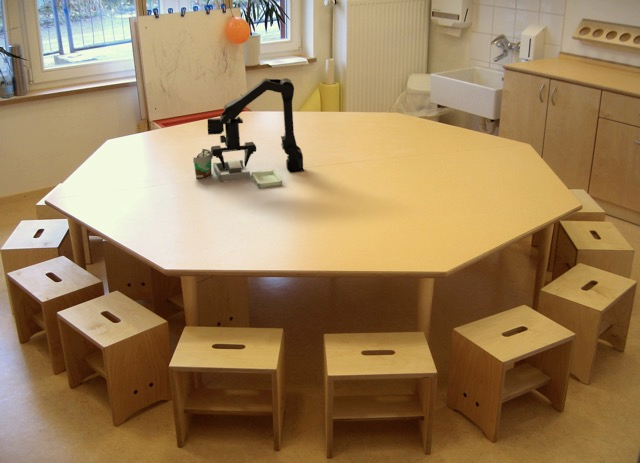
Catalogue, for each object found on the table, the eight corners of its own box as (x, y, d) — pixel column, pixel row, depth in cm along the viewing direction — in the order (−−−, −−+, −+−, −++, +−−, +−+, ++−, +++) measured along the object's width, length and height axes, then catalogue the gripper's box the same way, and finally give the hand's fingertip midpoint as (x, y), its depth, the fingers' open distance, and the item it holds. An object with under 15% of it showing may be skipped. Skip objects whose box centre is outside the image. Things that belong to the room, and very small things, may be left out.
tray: (274, 174, 329) (274, 169, 328) (282, 185, 316) (282, 181, 316) (251, 176, 326) (251, 172, 325) (258, 188, 314) (258, 184, 313)
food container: (208, 181, 322) (206, 158, 318) (195, 180, 324) (192, 157, 319) (218, 170, 333) (216, 149, 329) (204, 170, 334) (202, 148, 330)
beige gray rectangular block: (239, 170, 334) (238, 159, 332) (242, 177, 326) (241, 166, 324) (228, 171, 333) (227, 160, 331) (230, 178, 325) (229, 167, 323)
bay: (242, 166, 338) (242, 159, 337) (250, 178, 324) (249, 172, 323) (213, 169, 335) (213, 163, 333) (219, 182, 321) (219, 175, 320)
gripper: (250, 125, 331) (252, 159, 338) (207, 129, 327) (210, 164, 333) (255, 133, 322) (257, 167, 328) (211, 137, 317) (214, 172, 324)
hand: (234, 167), depth 329 cm, fingers open, 9 cm apart
